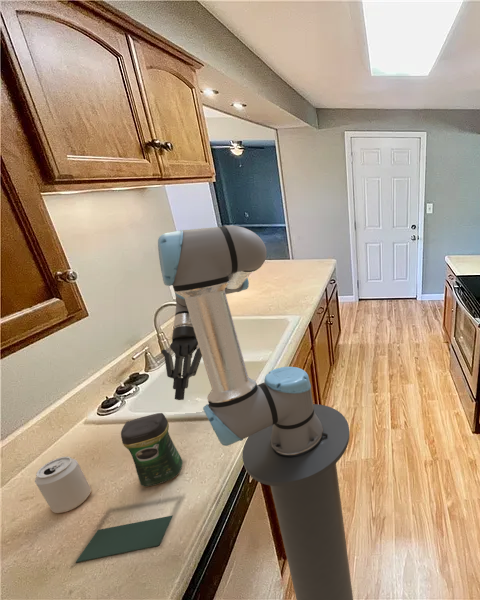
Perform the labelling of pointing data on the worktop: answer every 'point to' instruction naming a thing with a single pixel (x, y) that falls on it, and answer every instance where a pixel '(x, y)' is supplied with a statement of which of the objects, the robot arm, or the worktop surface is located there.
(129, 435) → the coffee jar
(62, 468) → the can
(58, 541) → the worktop surface
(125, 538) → the mat
